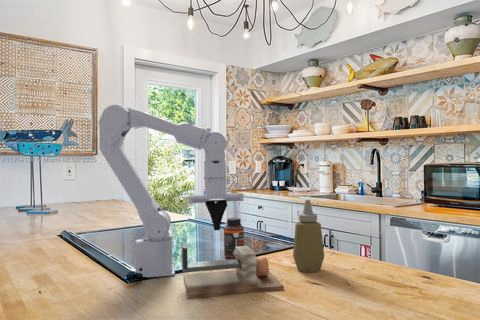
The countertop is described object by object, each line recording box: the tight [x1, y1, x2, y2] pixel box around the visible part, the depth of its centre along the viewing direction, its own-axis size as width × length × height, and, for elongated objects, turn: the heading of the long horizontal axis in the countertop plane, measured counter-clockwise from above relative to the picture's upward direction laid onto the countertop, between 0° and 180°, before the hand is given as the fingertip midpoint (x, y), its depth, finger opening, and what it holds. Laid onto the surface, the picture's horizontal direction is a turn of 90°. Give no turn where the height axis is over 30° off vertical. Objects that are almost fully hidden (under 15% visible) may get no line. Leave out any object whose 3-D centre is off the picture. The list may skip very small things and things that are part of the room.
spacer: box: [256, 256, 270, 277], centre depth 89 cm, size 4×4×2 cm
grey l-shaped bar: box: [180, 242, 241, 273], centre depth 86 cm, size 15×5×6 cm, turn 102°
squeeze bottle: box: [292, 199, 325, 273], centre depth 96 cm, size 8×8×18 cm
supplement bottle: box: [223, 217, 245, 259], centre depth 110 cm, size 6×6×11 cm
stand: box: [183, 245, 285, 299], centre depth 87 cm, size 21×14×8 cm, turn 102°
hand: (216, 229), depth 98 cm, fingers closed
